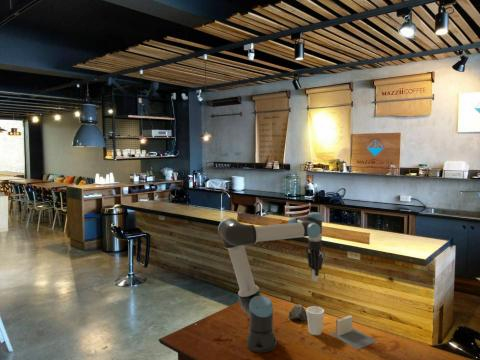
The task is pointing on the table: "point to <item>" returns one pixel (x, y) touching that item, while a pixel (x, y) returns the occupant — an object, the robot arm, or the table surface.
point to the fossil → (298, 313)
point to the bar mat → (355, 339)
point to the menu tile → (344, 325)
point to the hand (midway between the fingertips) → (314, 280)
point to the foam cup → (315, 319)
